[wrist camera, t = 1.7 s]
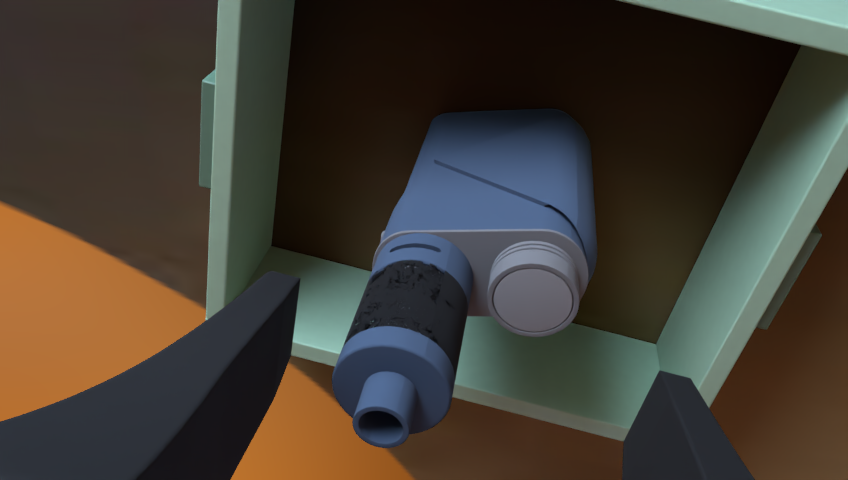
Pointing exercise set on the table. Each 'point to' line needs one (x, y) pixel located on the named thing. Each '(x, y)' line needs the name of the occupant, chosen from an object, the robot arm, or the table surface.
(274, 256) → the storage box
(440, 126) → the vaping device
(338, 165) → the table surface
